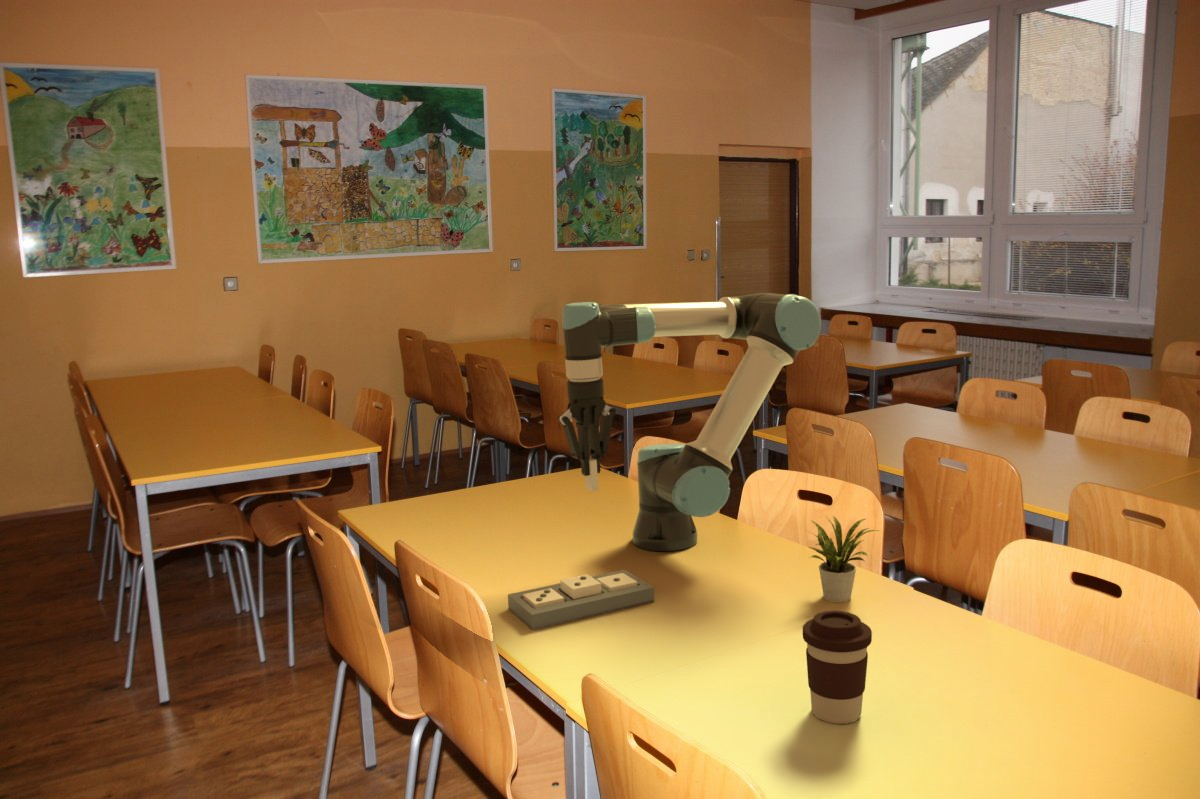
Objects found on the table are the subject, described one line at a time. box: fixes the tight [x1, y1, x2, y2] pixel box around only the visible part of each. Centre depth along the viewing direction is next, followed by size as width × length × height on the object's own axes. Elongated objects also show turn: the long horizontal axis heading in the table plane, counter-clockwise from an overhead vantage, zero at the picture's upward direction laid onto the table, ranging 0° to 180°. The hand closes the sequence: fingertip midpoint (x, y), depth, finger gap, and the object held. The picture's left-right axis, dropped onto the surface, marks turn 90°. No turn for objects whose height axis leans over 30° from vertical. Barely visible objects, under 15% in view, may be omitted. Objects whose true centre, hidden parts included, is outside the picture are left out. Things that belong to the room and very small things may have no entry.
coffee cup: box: [802, 609, 873, 725], centre depth 145 cm, size 10×10×15 cm
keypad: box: [507, 569, 655, 631], centre depth 191 cm, size 26×12×3 cm, turn 117°
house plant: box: [806, 515, 880, 603], centre depth 189 cm, size 14×14×16 cm
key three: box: [523, 588, 564, 609], centre depth 187 cm, size 6×6×2 cm
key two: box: [559, 574, 601, 599], centre depth 191 cm, size 6×6×2 cm
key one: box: [597, 573, 637, 592], centre depth 194 cm, size 6×6×2 cm
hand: (592, 489), depth 204 cm, fingers closed
